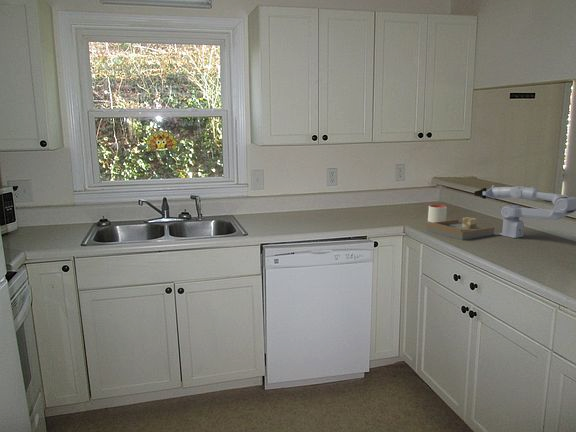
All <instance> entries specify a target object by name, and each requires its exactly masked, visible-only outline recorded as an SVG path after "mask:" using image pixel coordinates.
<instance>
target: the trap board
mask: <svg viewBox="0 0 576 432" xmlns="http://www.w3.org/2000/svg"><path fill="white" fill-rule="evenodd" d="M425 232H430V233H433V234H436V235H437V234H438V235H441V236H445V237H449V238H453V239H457V240H461V241H464V240H471V239H478V238H481V237H489V236H493V235H495V226H491V227H483V228H482V227H477V226H476V228H472V229H468V228H464V227H462V222H461V223H460V222H459V218H457V219H455V218H454V219H448V220H447V219H446V221H440V222H428V221H427V222H426V225H425Z"/></svg>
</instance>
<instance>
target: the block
mask: <svg viewBox="0 0 576 432" xmlns="http://www.w3.org/2000/svg"><path fill="white" fill-rule="evenodd" d="M477 220H478V219H477V218H476V217H470V216H469V217H468V216H467V217H462V222H461V224H462V227H464V228H468V229H472V228H476V227H477V224H478V223H477Z"/></svg>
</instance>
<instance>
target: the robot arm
mask: <svg viewBox="0 0 576 432" xmlns="http://www.w3.org/2000/svg"><path fill="white" fill-rule="evenodd" d="M473 193H474V196H475V197H480V198H482V199H487V197H488V198H491V199H493V200H494V199H509V198H510V199H511V198H512V199H513V198H514V199H518V198H521V199H523V200H524V199H526V200H530V201H536V200H538V199H540V200H545V201H550V202H552V205H554V206H553V209H550V208H549V209H548V208H547V209H546V208H533V207H531V208H530V207H525V206H521V205H519V204H515V205H509V206H508V205H506V206H503V207H502V208H501V210H500V214H501V216H502V219H503V220H502V231H501V232H499V233H498V235H500V236H503V237H507V238H512V239H516V238H517V239H518V238H524V228H525V222H524V221H522V220H520V218H527V219H528V218H529V219H538V220H540V219H541V220H542V219H543V220H553V221H556V220H562V219H563V218H566V216H570V215H571V214H573V213H575V212H576V196H570V195H567V194H560V193H552V192H543V191H540V190H539V188H536V187H535V186H531V187H526V186H525V185H518V186H496V185H495V184H492V185H491V188H488V189H487V187H482V188H481V189H479V190H476V191H474V192H473Z"/></svg>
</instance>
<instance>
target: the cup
mask: <svg viewBox="0 0 576 432" xmlns="http://www.w3.org/2000/svg"><path fill="white" fill-rule="evenodd" d="M447 209H448V207H447V206H446V205H442V204H431V205H428V212H427V223H428V222H440V221H447V212H448V210H447Z"/></svg>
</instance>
